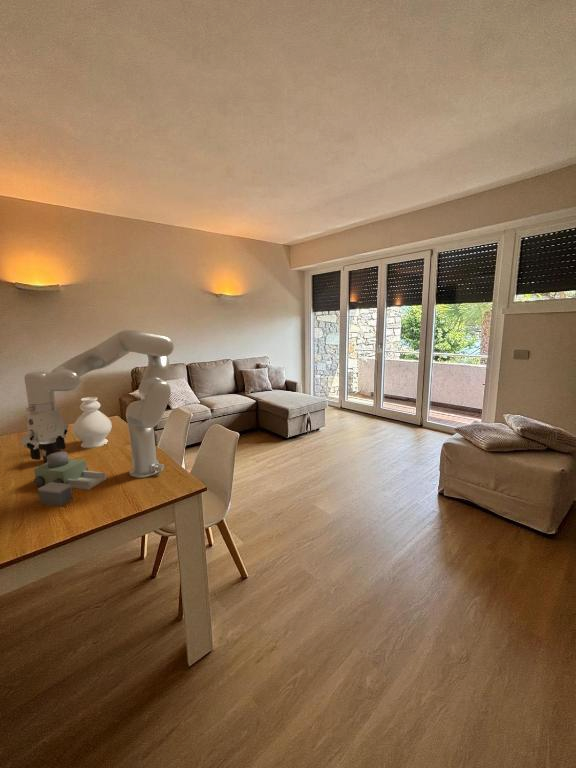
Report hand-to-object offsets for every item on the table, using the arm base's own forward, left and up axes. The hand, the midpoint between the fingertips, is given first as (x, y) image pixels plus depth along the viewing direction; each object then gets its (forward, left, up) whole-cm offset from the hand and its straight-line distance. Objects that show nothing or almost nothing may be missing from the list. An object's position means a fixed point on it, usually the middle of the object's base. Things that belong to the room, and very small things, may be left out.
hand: (49, 453), depth 117 cm
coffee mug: (+35, -30, -19) cm, 50 cm away
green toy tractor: (+7, -14, -18) cm, 24 cm away
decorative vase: (+31, -52, -19) cm, 63 cm away
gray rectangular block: (0, 0, -19) cm, 19 cm away
